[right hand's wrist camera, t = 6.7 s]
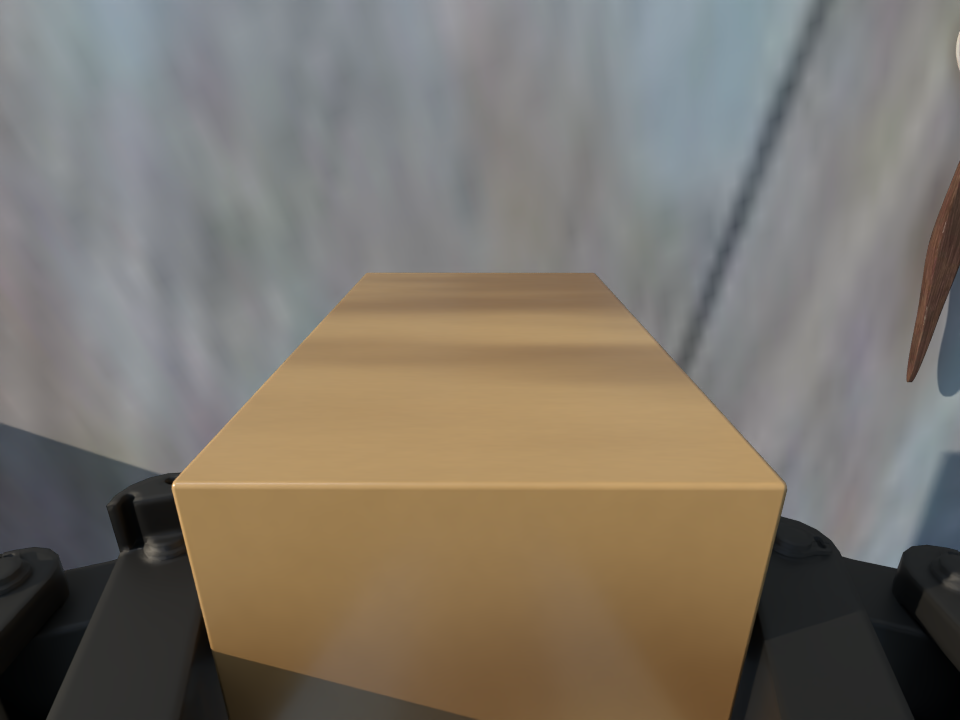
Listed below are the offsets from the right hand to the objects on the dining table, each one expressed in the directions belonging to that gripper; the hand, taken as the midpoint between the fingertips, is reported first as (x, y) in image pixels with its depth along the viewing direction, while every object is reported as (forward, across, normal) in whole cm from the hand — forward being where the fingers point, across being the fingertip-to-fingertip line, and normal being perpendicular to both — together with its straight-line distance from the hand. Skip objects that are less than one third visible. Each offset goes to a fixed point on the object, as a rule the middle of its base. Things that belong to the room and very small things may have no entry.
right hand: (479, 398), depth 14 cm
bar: (+1, 0, -9) cm, 9 cm away
